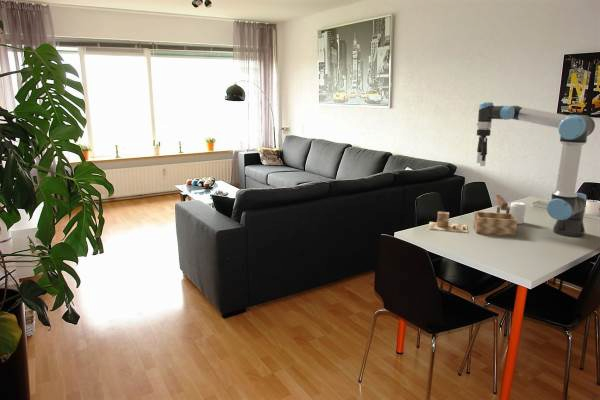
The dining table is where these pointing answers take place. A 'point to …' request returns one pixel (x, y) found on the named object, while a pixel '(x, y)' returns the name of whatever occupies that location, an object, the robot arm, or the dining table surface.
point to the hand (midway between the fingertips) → (480, 164)
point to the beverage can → (518, 211)
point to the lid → (446, 224)
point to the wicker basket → (495, 223)
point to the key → (501, 202)
